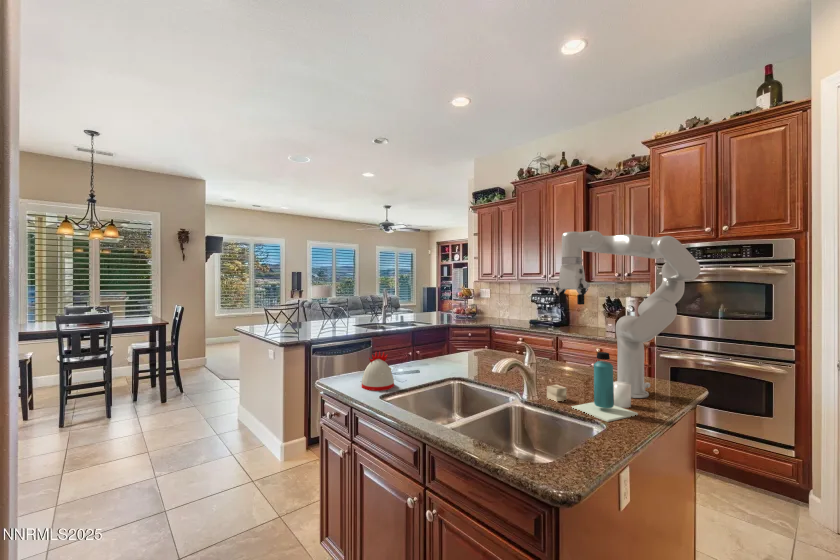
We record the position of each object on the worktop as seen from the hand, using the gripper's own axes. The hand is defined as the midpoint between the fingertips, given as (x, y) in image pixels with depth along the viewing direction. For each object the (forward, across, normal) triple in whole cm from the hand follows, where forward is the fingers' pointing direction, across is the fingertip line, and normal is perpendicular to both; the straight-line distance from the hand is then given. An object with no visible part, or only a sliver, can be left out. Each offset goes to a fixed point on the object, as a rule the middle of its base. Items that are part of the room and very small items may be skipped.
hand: (571, 303), depth 158 cm
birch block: (+36, -5, +13) cm, 39 cm away
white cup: (+36, -20, -4) cm, 42 cm away
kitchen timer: (+37, +42, +69) cm, 89 cm away
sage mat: (+36, -22, +8) cm, 43 cm away
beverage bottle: (+36, -22, +8) cm, 43 cm away
